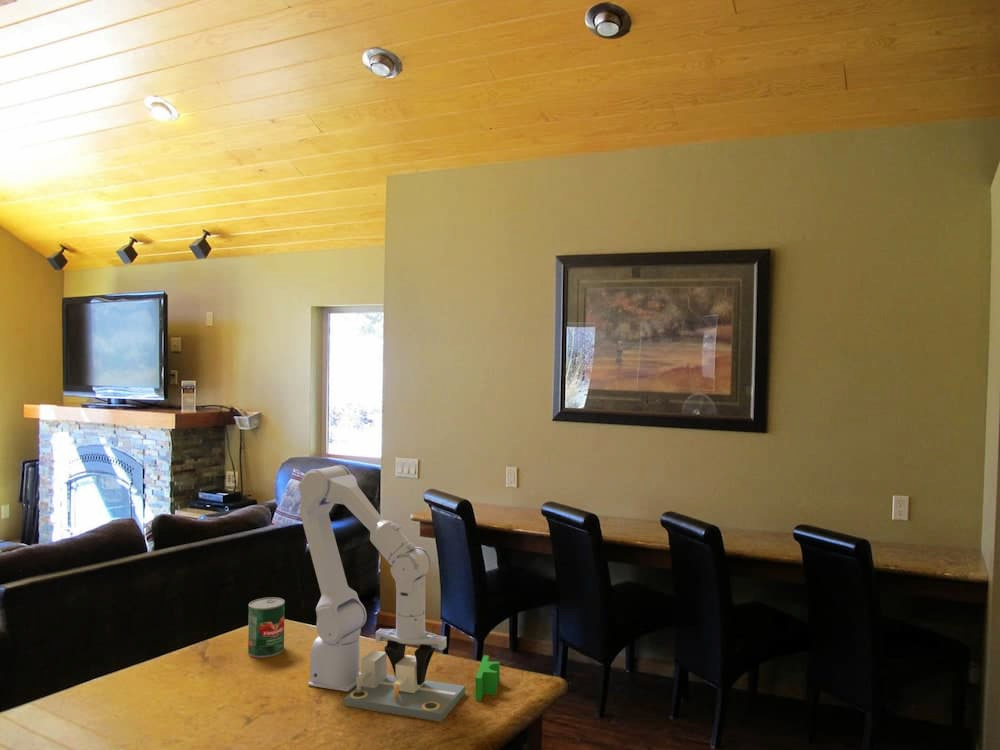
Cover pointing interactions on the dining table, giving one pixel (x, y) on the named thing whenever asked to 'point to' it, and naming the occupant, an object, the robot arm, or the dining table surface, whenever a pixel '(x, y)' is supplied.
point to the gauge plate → (400, 693)
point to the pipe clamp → (487, 678)
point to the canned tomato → (266, 627)
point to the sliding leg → (406, 676)
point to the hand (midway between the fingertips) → (410, 681)
